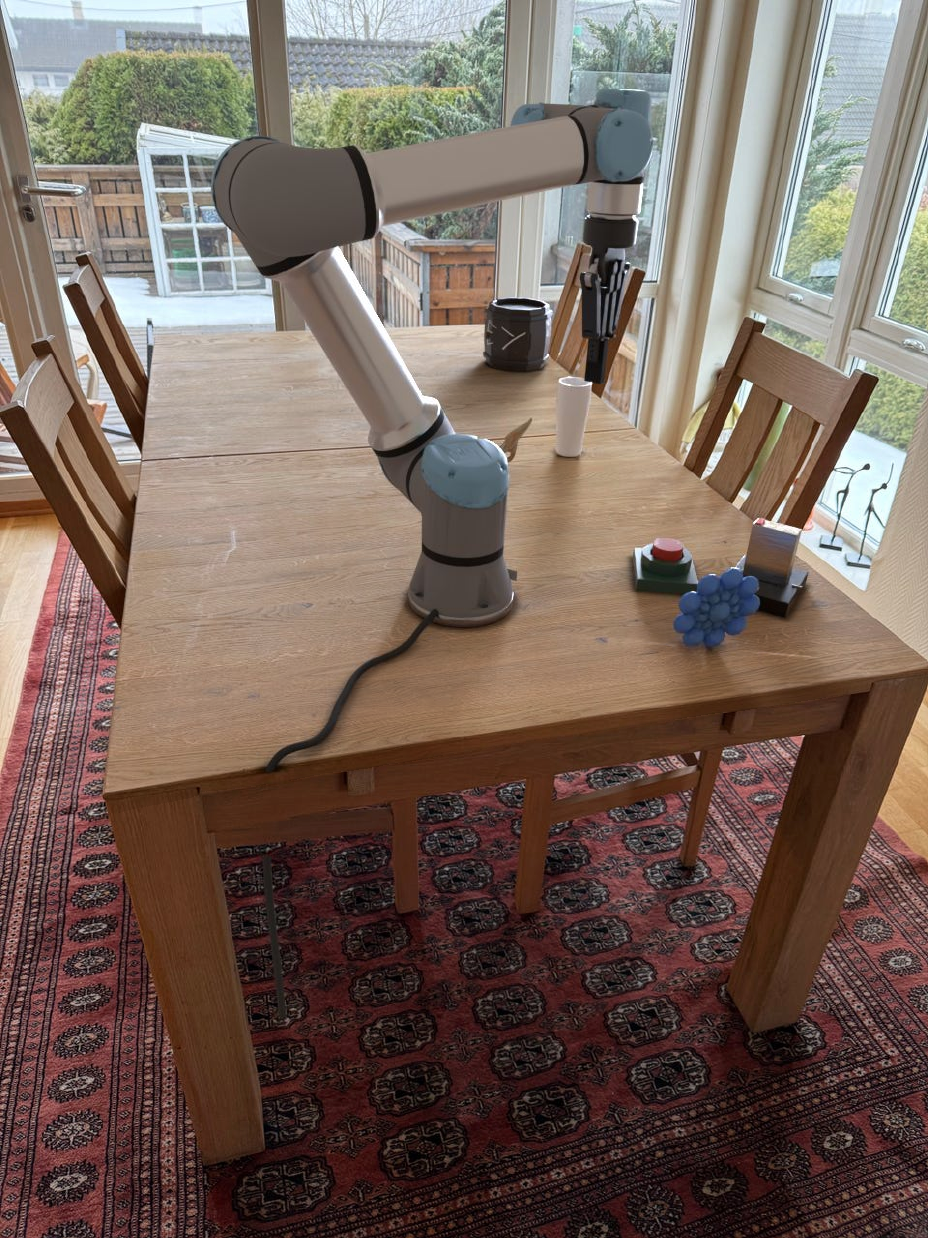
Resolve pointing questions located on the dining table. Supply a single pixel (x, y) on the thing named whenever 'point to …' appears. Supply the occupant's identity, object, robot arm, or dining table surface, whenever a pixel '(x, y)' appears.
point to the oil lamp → (514, 439)
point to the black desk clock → (517, 334)
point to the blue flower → (717, 608)
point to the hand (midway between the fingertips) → (594, 381)
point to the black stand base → (778, 592)
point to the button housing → (663, 572)
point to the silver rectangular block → (771, 551)
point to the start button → (667, 549)
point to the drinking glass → (571, 414)
